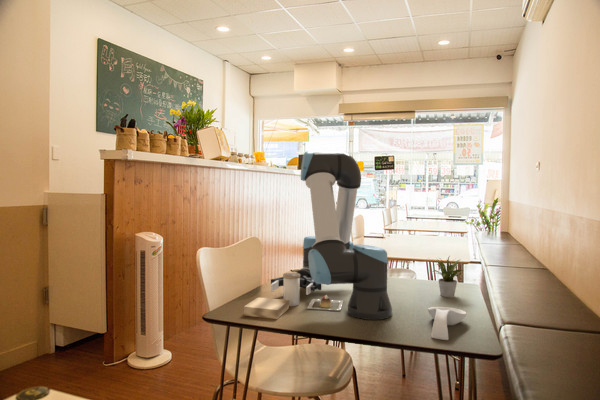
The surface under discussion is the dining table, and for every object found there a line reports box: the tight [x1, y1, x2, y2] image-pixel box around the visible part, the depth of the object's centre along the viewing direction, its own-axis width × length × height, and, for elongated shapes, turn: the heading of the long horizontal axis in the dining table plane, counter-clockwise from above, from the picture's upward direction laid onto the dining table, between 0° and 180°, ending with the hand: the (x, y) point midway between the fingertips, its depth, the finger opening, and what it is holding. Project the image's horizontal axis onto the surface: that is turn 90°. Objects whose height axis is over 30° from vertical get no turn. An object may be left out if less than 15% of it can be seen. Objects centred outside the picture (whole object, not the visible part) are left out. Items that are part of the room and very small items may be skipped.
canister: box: [282, 272, 301, 307], centre depth 150 cm, size 6×6×11 cm
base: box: [243, 297, 290, 320], centre depth 140 cm, size 12×12×3 cm
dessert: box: [306, 294, 344, 312], centre depth 148 cm, size 12×12×5 cm
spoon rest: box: [427, 306, 467, 341], centre depth 126 cm, size 24×12×7 cm, turn 155°
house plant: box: [427, 255, 464, 298], centre depth 163 cm, size 14×14×16 cm
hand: (289, 289), depth 147 cm, fingers open, 13 cm apart
